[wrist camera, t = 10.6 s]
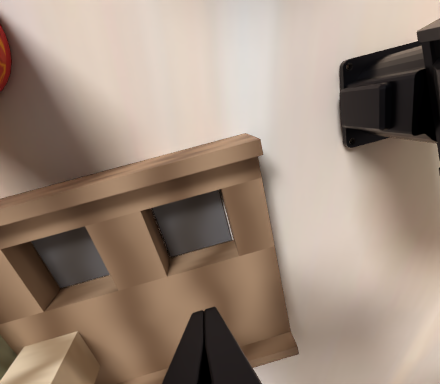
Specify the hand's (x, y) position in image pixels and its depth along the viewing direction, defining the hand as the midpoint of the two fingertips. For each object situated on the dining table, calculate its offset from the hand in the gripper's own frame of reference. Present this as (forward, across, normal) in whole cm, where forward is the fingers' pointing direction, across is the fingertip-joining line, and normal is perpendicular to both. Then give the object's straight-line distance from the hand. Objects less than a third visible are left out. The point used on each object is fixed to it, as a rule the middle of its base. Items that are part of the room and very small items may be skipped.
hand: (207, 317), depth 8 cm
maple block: (+10, +15, +10) cm, 20 cm away
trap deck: (+12, +7, +6) cm, 15 cm away
